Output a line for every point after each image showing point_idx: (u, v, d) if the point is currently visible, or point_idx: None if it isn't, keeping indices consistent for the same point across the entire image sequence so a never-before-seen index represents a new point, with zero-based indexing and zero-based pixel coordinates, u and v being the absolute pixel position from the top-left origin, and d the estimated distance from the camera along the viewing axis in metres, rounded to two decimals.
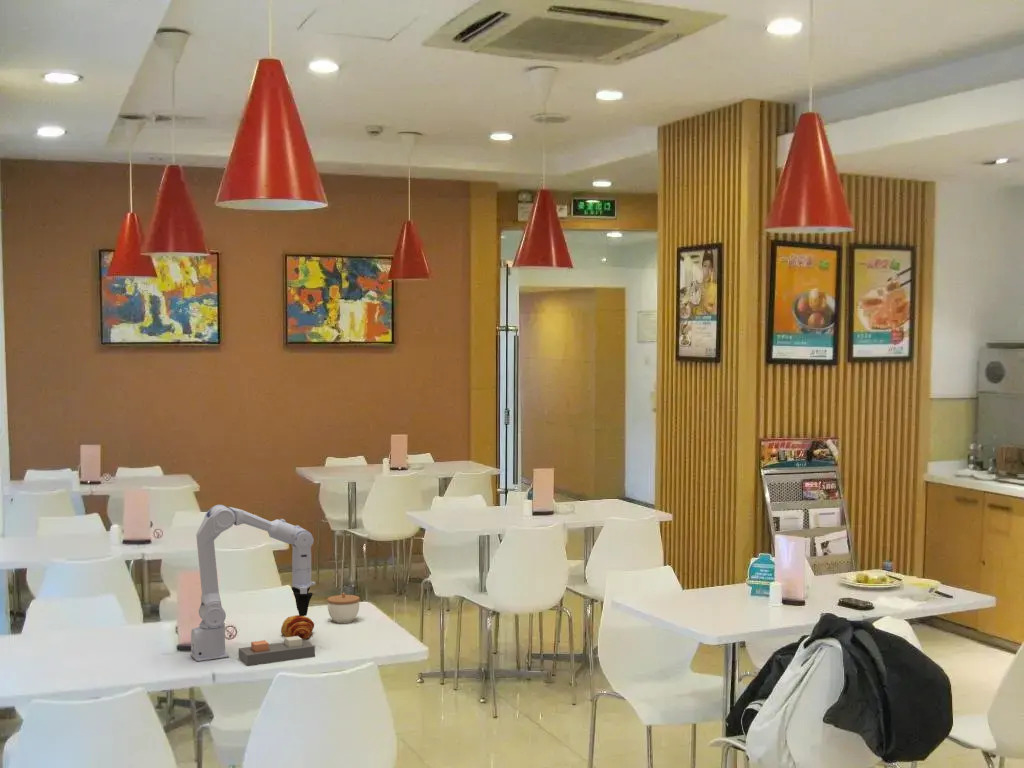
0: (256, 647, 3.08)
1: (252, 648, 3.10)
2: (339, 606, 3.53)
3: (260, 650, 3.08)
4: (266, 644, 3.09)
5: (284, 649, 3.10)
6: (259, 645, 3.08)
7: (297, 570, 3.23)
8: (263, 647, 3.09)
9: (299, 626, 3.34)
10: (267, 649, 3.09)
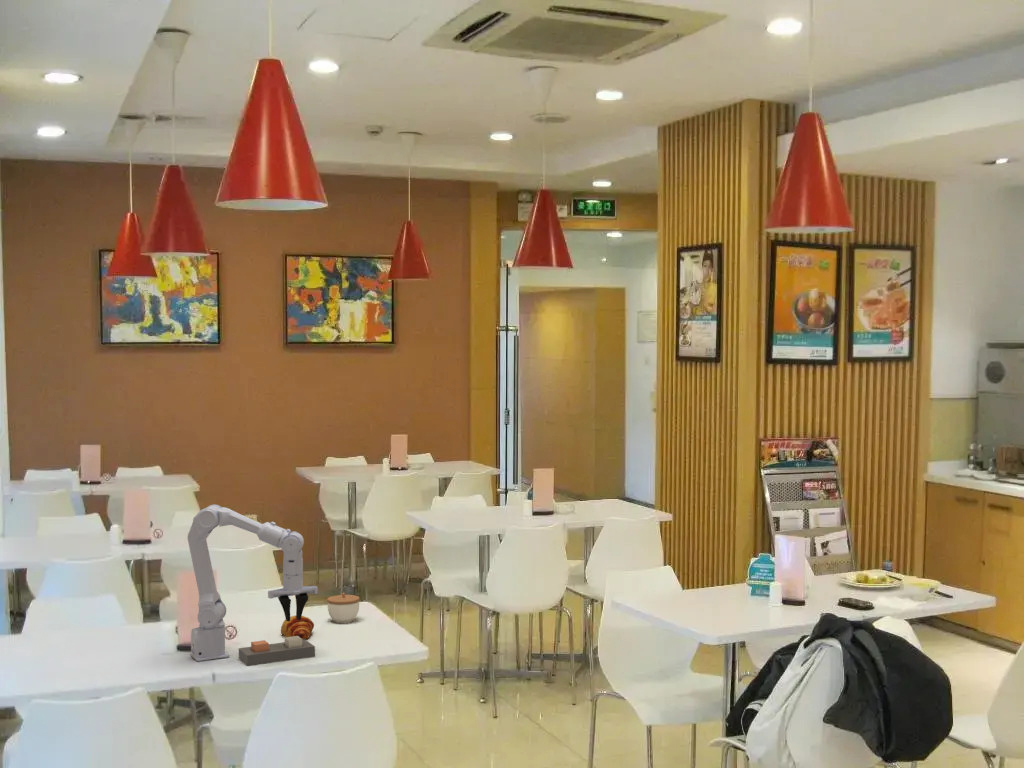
0: (256, 647, 3.08)
1: (252, 648, 3.10)
2: (339, 606, 3.53)
3: (260, 650, 3.08)
4: (266, 644, 3.09)
5: (284, 649, 3.10)
6: (259, 645, 3.08)
7: None
8: (263, 647, 3.09)
9: (299, 626, 3.34)
10: (267, 649, 3.09)
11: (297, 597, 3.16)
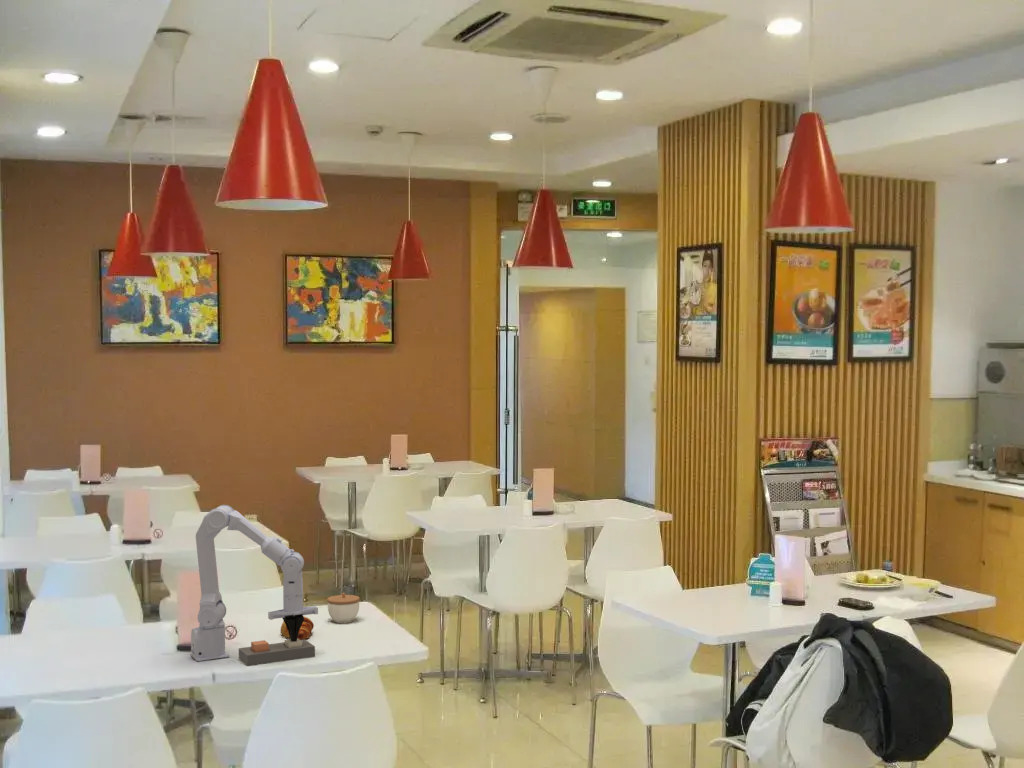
0: (256, 647, 3.08)
1: (252, 648, 3.10)
2: (339, 606, 3.53)
3: (260, 650, 3.08)
4: (266, 644, 3.09)
5: (284, 649, 3.10)
6: (259, 645, 3.08)
7: None
8: (263, 647, 3.09)
9: None
10: (267, 649, 3.09)
11: None
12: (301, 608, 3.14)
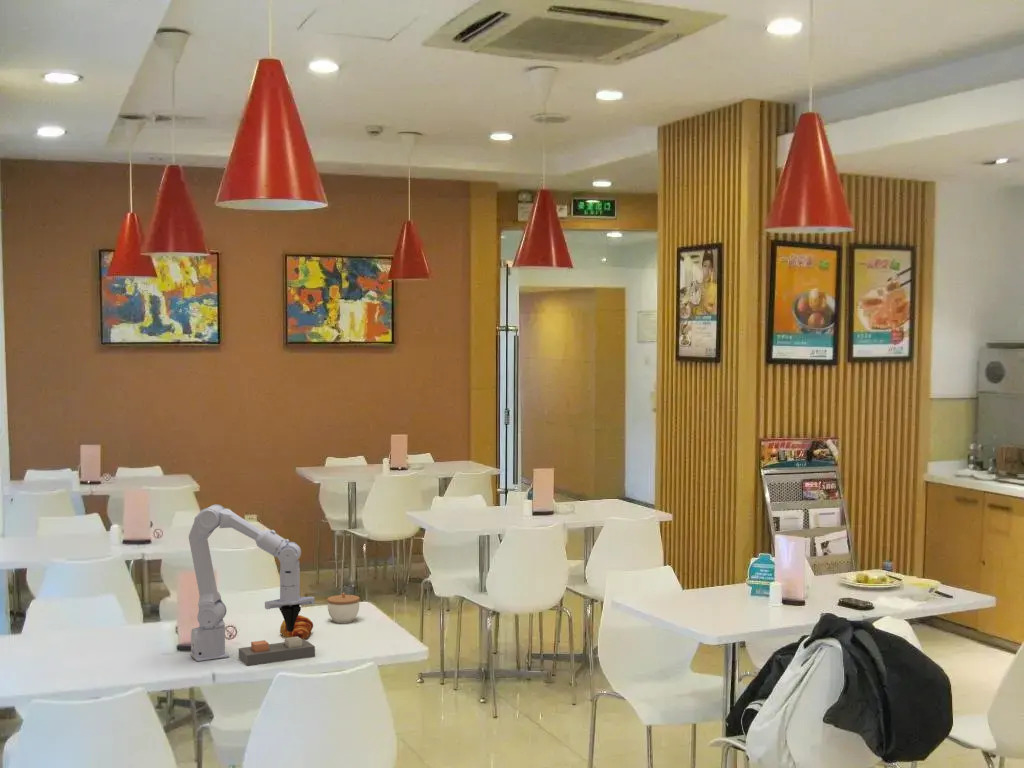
0: (256, 647, 3.08)
1: (252, 648, 3.10)
2: (339, 606, 3.53)
3: (260, 650, 3.08)
4: (266, 644, 3.09)
5: (284, 649, 3.10)
6: (259, 645, 3.08)
7: None
8: (263, 647, 3.09)
9: (298, 626, 3.34)
10: (267, 649, 3.09)
11: (290, 608, 3.15)
12: (298, 598, 3.14)
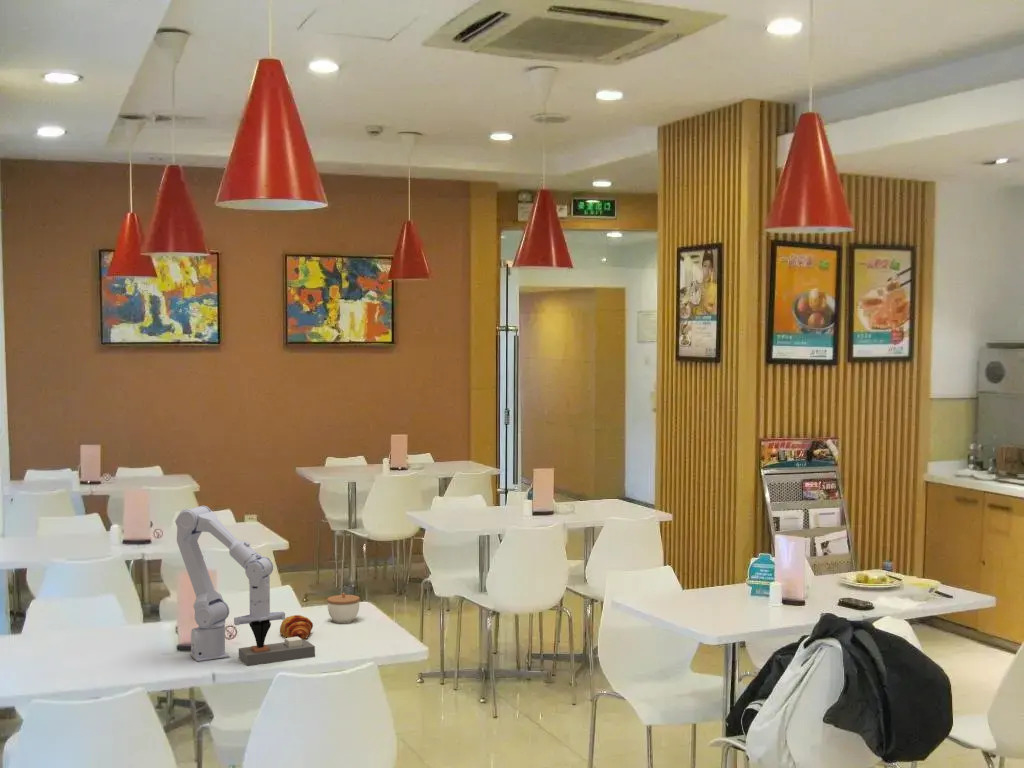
0: (256, 651, 3.08)
1: None
2: (339, 606, 3.53)
3: None
4: (266, 648, 3.09)
5: (284, 649, 3.10)
6: (259, 649, 3.08)
7: None
8: None
9: (297, 626, 3.34)
10: None
11: (260, 624, 3.11)
12: (268, 613, 3.09)
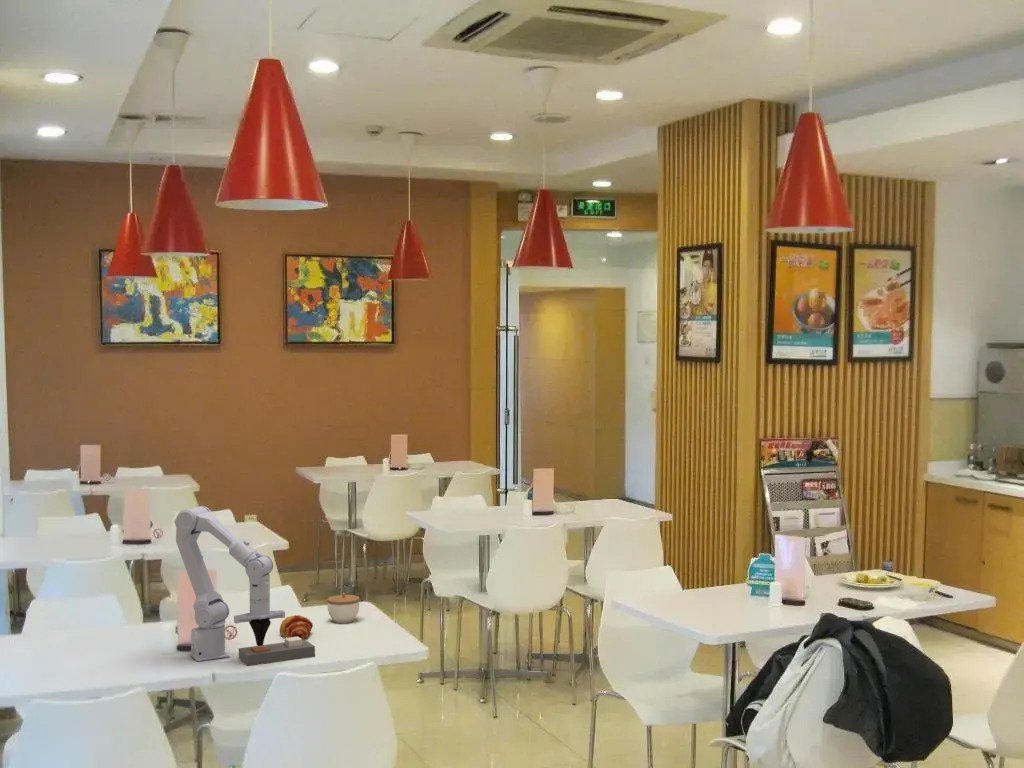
0: None
1: None
2: (339, 606, 3.53)
3: None
4: (266, 649, 3.09)
5: (284, 649, 3.10)
6: (259, 650, 3.08)
7: None
8: None
9: (297, 626, 3.34)
10: None
11: (259, 622, 3.11)
12: (267, 612, 3.09)
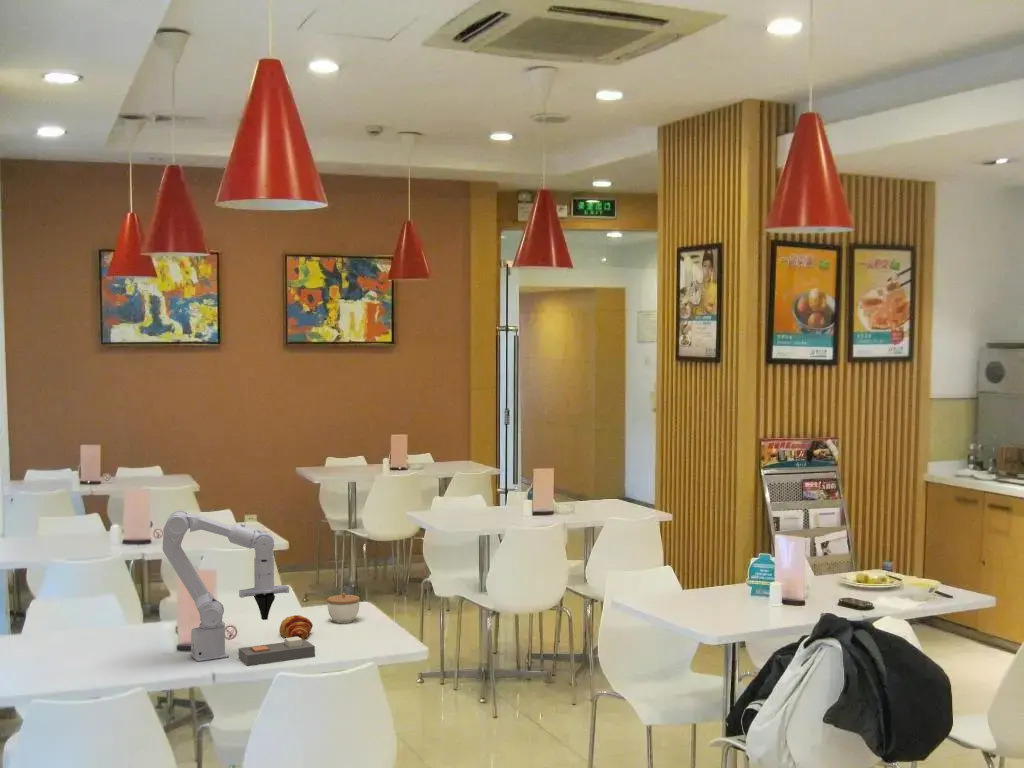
0: None
1: None
2: (339, 606, 3.53)
3: None
4: (266, 649, 3.09)
5: (284, 649, 3.10)
6: (259, 650, 3.08)
7: None
8: None
9: (297, 626, 3.34)
10: None
11: (264, 597, 3.18)
12: (272, 586, 3.16)
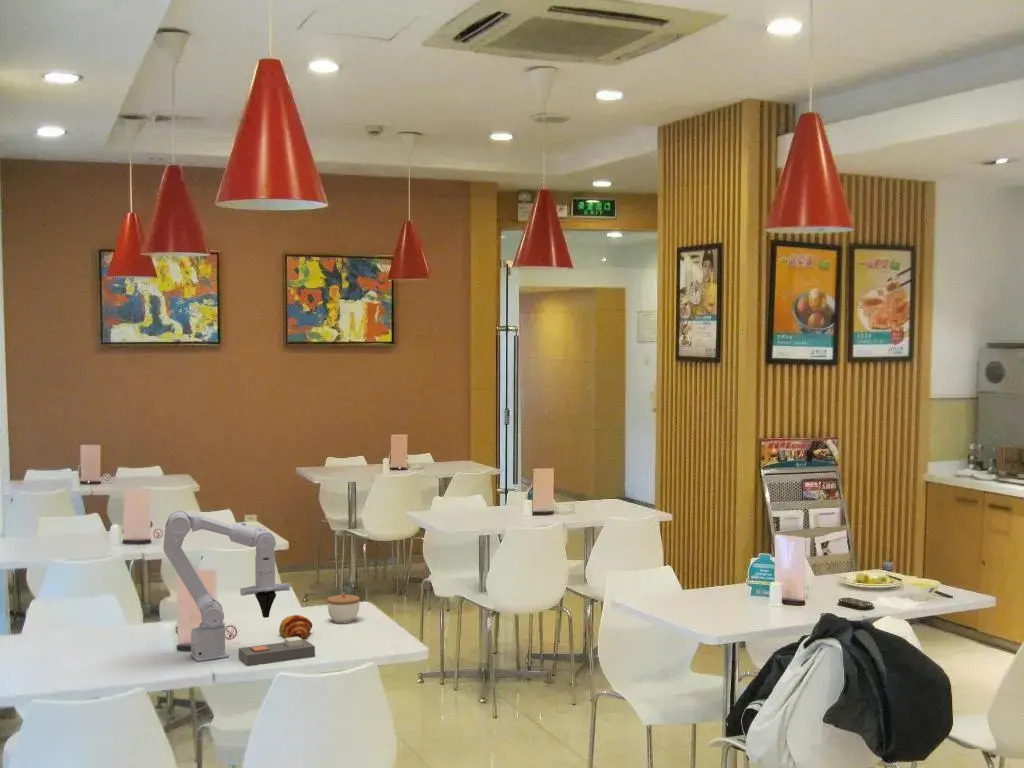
0: None
1: None
2: (339, 606, 3.53)
3: None
4: (266, 649, 3.09)
5: (284, 649, 3.10)
6: (259, 650, 3.08)
7: None
8: None
9: (296, 626, 3.34)
10: None
11: (265, 595, 3.20)
12: (273, 584, 3.18)
